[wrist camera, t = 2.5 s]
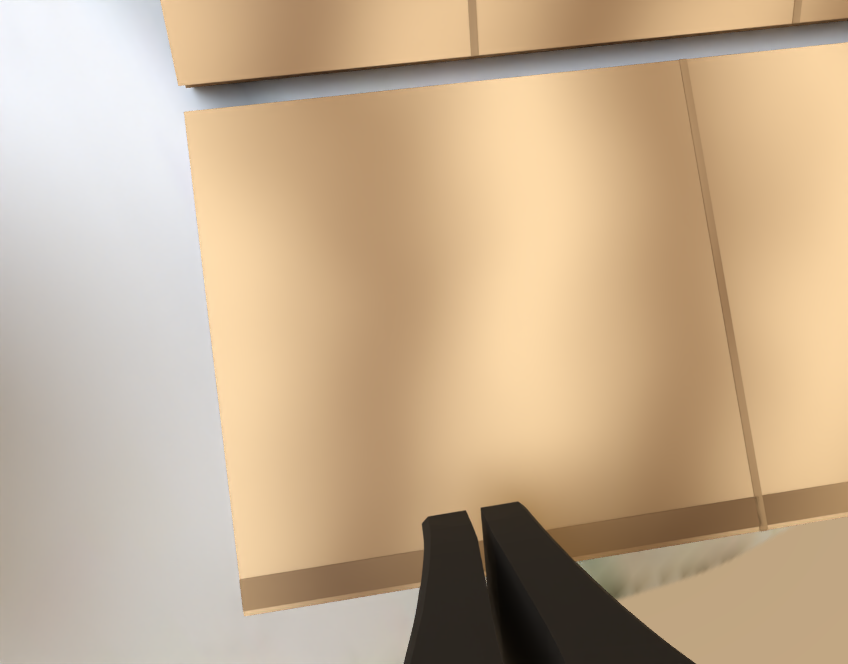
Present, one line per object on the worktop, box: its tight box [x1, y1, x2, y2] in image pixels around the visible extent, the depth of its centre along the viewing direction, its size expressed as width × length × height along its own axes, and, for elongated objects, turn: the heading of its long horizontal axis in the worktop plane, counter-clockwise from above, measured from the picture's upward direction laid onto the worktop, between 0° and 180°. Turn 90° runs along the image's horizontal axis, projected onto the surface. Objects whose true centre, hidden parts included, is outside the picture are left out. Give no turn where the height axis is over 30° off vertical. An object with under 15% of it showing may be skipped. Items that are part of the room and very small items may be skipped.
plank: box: [184, 42, 848, 616], centre depth 16 cm, size 18×10×1 cm, turn 95°
